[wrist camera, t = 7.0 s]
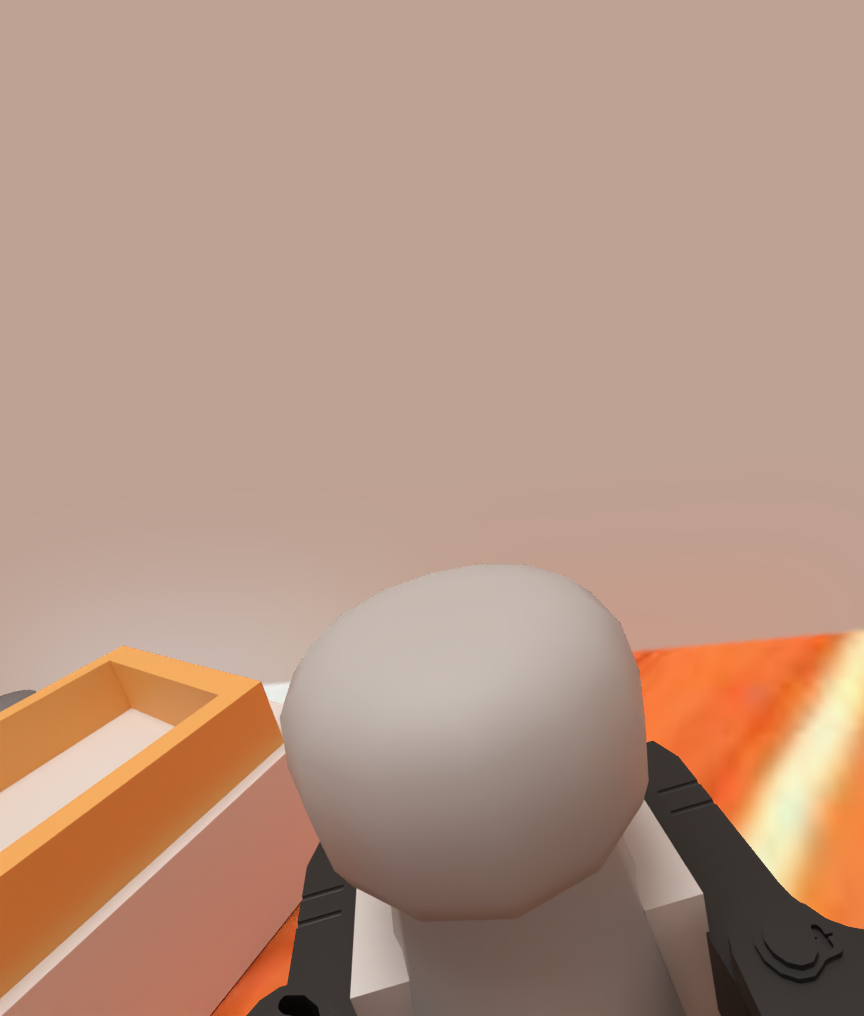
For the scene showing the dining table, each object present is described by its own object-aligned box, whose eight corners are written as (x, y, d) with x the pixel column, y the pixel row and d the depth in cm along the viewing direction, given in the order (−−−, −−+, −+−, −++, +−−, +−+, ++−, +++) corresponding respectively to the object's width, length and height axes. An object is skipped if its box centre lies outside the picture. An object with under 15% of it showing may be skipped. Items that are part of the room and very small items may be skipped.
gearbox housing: (-197, 932, 22) (-302, 793, 20) (130, 717, 32) (81, 614, 30) (-149, 1465, 9) (-428, 1217, 7) (363, 823, 20) (303, 658, 18)
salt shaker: (393, 1347, 9) (79, 723, 6) (524, 989, 13) (391, 528, 10) (819, 1862, 5) (628, 990, 2) (801, 1143, 10) (733, 511, 6)
